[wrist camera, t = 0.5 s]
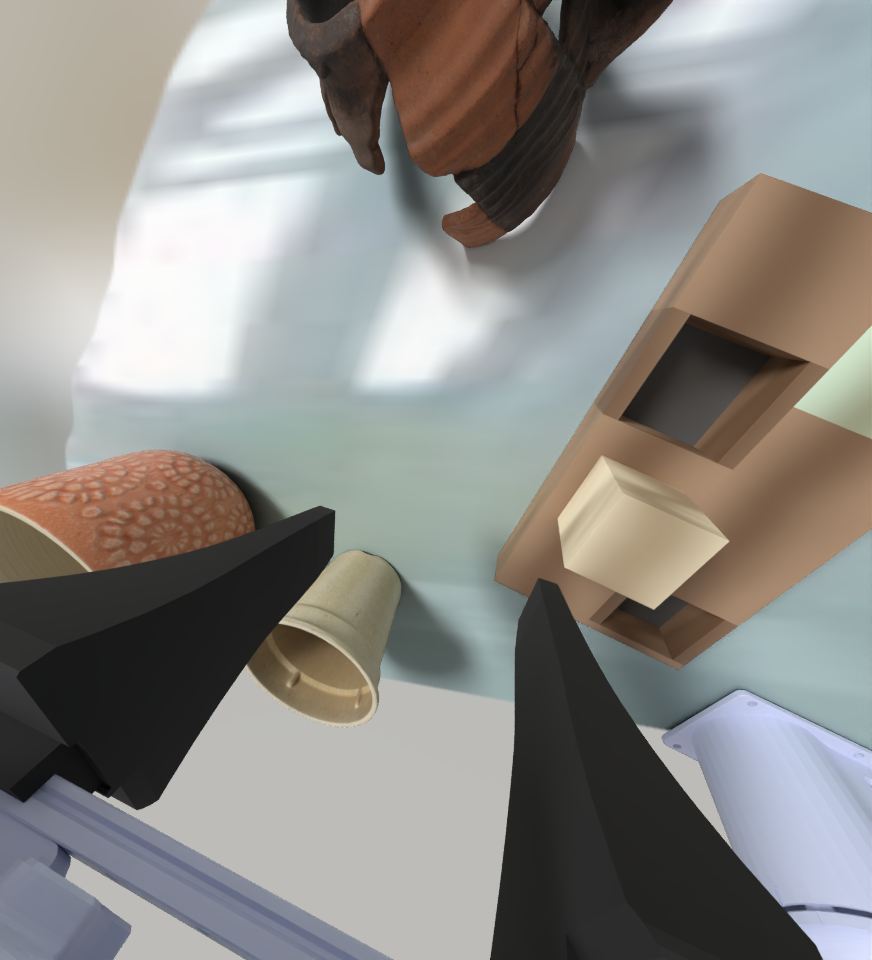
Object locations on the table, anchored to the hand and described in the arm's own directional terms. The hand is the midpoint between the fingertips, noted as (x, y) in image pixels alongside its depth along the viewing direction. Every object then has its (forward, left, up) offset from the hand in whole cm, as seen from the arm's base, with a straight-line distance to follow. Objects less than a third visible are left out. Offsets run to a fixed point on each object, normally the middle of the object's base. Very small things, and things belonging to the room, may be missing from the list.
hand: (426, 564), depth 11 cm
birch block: (-7, -2, -8) cm, 11 cm away
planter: (+19, +14, -10) cm, 25 cm away
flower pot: (+4, +14, -10) cm, 18 cm away
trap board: (-10, -4, -10) cm, 15 cm away
